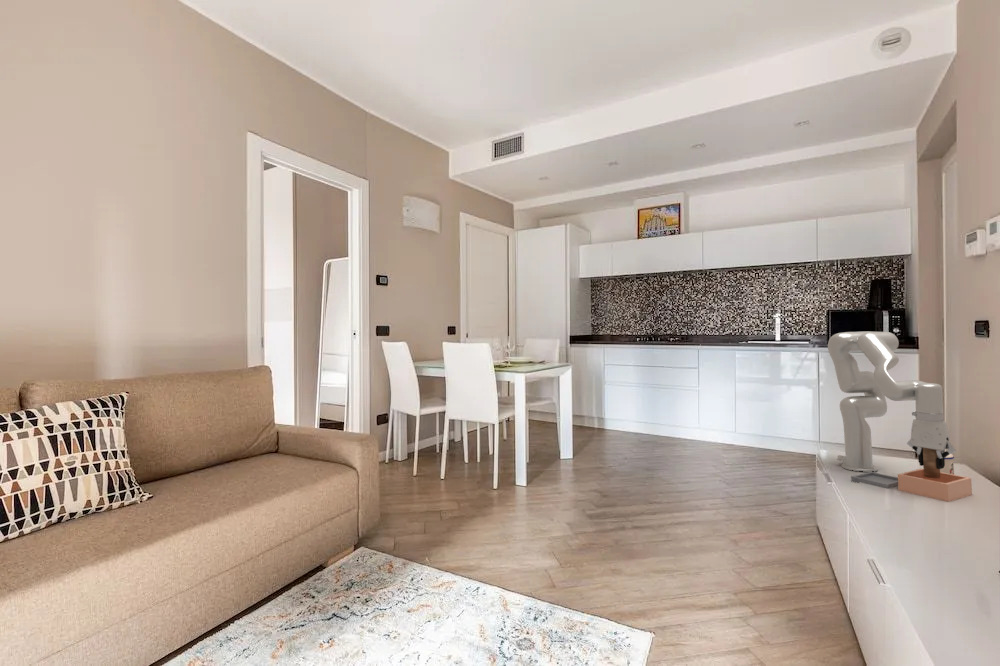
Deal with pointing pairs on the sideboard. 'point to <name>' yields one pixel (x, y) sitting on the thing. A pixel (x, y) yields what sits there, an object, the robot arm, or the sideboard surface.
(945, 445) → the robot arm
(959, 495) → the terracotta open box
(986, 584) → the sideboard surface
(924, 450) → the walnut dowel
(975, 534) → the sideboard surface
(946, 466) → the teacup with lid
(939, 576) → the sideboard surface
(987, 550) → the sideboard surface
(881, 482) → the grey tray
